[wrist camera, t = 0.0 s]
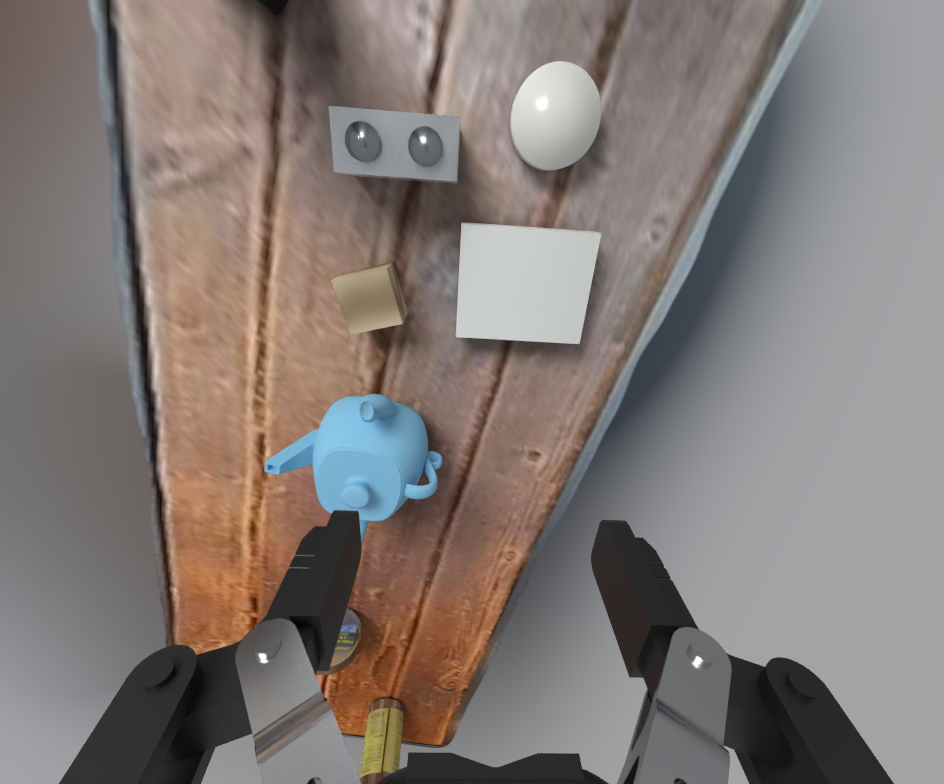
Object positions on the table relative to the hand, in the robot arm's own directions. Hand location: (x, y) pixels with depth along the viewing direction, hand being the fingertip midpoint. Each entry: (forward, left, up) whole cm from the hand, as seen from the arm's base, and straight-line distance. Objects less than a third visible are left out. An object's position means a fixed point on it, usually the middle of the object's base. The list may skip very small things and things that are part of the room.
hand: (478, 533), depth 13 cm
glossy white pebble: (-16, +6, -29) cm, 34 cm away
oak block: (-1, -9, -30) cm, 31 cm away
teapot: (+15, -10, -30) cm, 35 cm away
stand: (-3, +5, -29) cm, 30 cm away
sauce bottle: (+74, -10, -30) cm, 80 cm away
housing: (-13, -6, -29) cm, 33 cm away
